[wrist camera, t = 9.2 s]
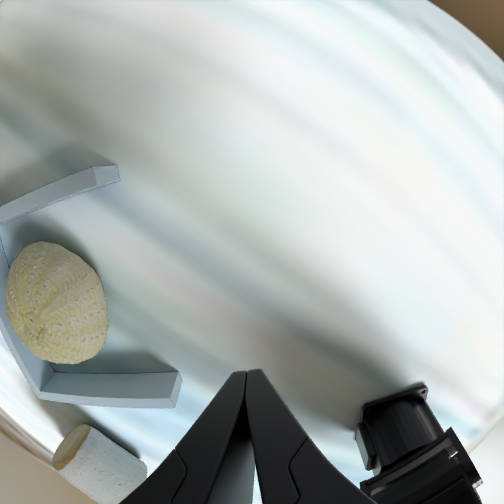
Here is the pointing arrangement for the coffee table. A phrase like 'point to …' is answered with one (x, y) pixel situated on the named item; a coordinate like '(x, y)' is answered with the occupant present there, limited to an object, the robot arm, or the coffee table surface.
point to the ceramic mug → (98, 465)
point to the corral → (40, 371)
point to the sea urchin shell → (56, 304)
